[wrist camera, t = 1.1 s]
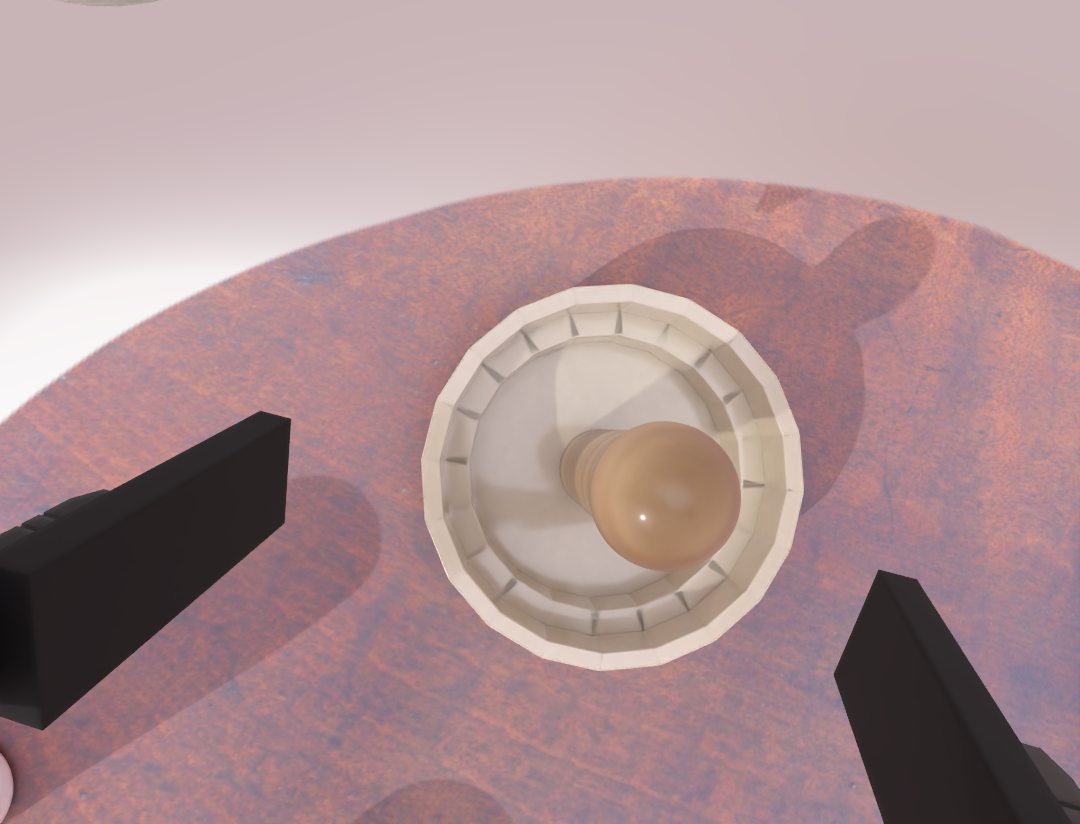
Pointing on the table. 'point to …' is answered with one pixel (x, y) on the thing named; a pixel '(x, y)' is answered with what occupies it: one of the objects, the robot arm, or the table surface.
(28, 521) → the robot arm
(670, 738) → the table surface
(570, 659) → the bowl
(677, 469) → the pestle
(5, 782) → the drinking glass
